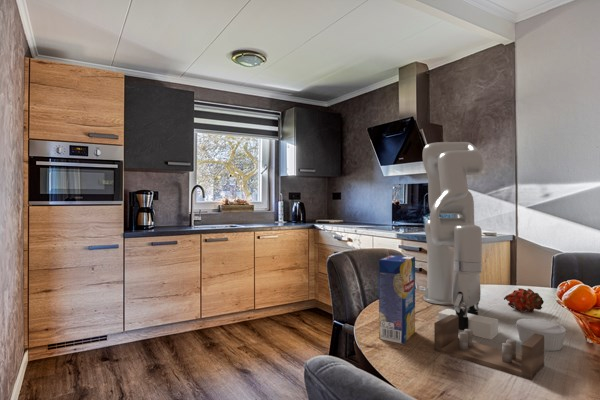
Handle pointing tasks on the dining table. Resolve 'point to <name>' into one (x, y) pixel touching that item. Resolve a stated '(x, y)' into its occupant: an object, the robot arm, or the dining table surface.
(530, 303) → the dragon fruit
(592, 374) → the dining table surface
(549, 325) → the ramekin
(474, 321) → the shelf board
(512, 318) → the dining table surface
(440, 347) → the peg frame
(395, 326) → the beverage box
